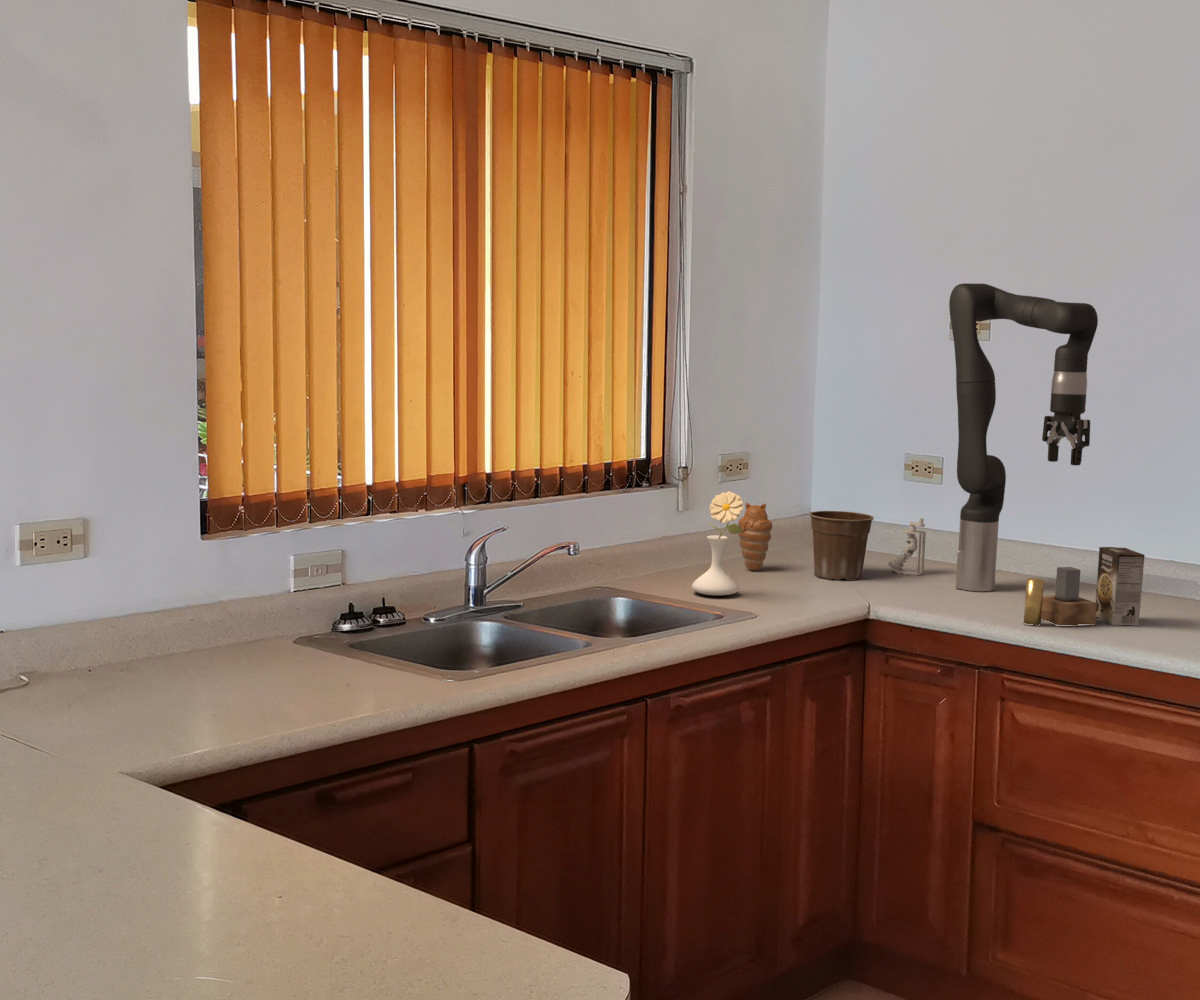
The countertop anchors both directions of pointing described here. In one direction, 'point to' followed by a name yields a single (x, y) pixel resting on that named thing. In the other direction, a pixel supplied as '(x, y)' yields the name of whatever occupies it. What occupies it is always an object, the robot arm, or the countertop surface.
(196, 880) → the countertop surface
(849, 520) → the plant pot
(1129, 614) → the coffee box
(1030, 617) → the round bit
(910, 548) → the clamp
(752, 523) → the cat ice cream
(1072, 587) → the square bit
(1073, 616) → the bore block
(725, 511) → the flower in vase
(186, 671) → the countertop surface
